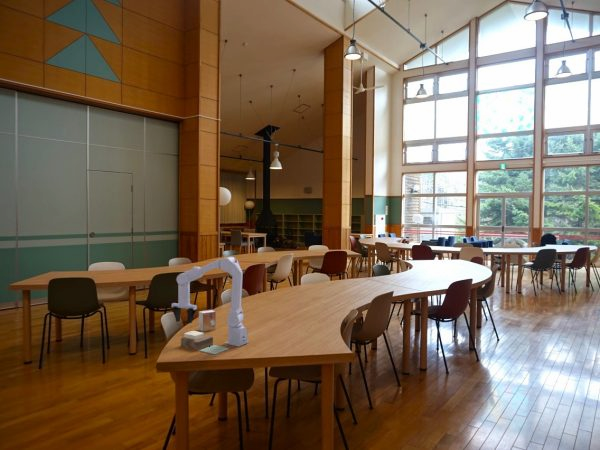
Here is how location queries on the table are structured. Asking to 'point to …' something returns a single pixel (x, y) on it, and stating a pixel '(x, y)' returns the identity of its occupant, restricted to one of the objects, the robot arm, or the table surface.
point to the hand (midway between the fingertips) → (184, 322)
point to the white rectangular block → (194, 335)
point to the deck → (197, 343)
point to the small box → (207, 320)
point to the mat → (214, 349)
